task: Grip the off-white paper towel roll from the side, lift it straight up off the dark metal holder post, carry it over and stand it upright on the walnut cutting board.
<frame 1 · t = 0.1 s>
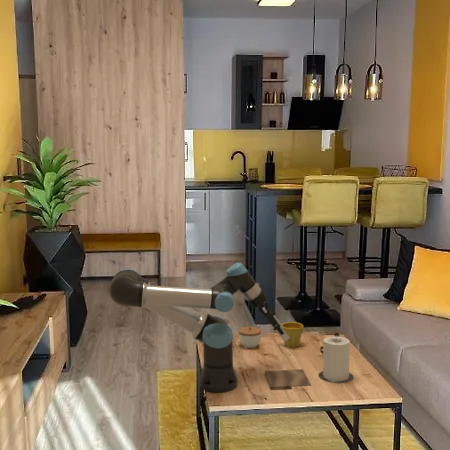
hand: (284, 334, 248), 15 cm above the table, tool tilted 35°, fingers open, 13 cm apart
plant pot: (292, 345, 279), on the table
lidded jar: (250, 346, 278), on the table
binoculars: (330, 358, 262), on the table
cutting board: (287, 380, 237), on the table
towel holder: (335, 378, 239), on the table
towel roll: (335, 376, 239), point 1 cm above the table, touching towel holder
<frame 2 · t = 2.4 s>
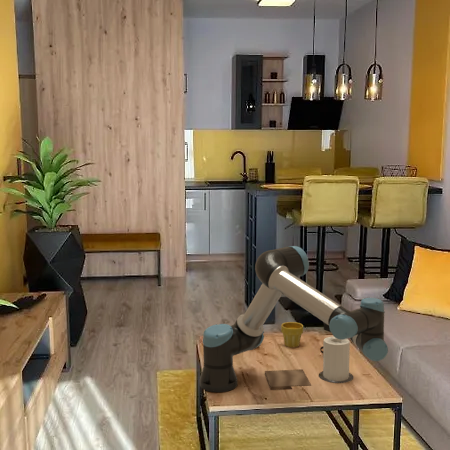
hand: (344, 318, 224), 28 cm above the table, tool horizontal, fingers open, 13 cm apart
nothing on the table moved.
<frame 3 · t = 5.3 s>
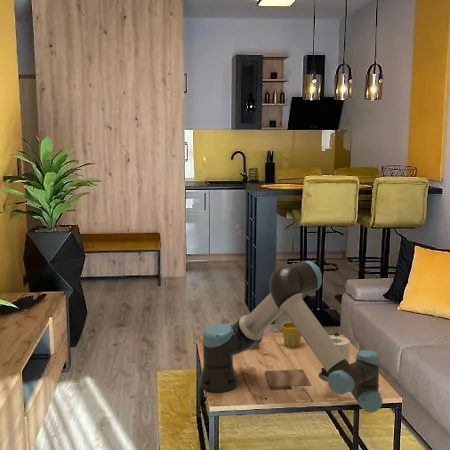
hand: (342, 362, 231), 9 cm above the table, tool horizontal, fingers open, 13 cm apart
nothing on the table moved.
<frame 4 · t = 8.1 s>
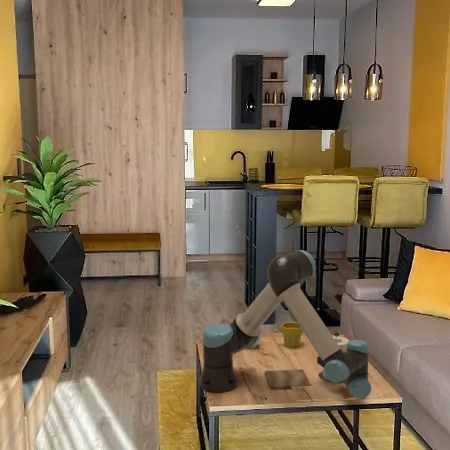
hand: (333, 352, 242), 10 cm above the table, tool horizontal, fingers closed on towel roll, 10 cm apart
towel roll: (335, 376, 239), point 1 cm above the table, touching gripper, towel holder
everything else where it was.
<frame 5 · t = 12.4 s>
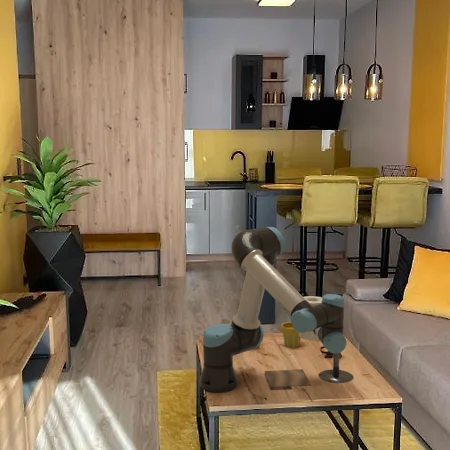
hand: (309, 312, 237), 27 cm above the table, tool horizontal, fingers closed on towel roll, 10 cm apart
towel roll: (312, 336, 234), point 19 cm above the table, touching gripper
everything else where it was.
when the fingers open (11 cm above the table, at t = 17.1 s): towel roll drops 1 cm, resting on cutting board.
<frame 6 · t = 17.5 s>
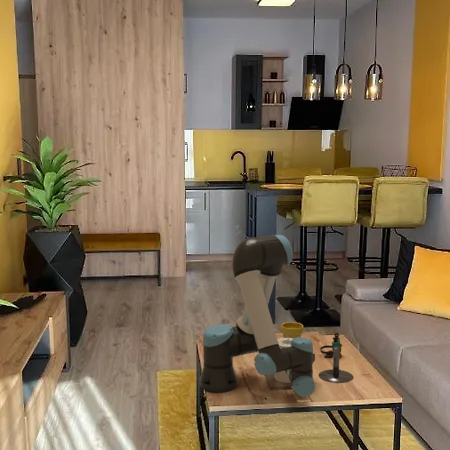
hand: (285, 351, 239), 11 cm above the table, tool horizontal, fingers open, 13 cm apart
towel roll: (287, 377, 237), point 1 cm above the table, touching cutting board
everything else where it was.
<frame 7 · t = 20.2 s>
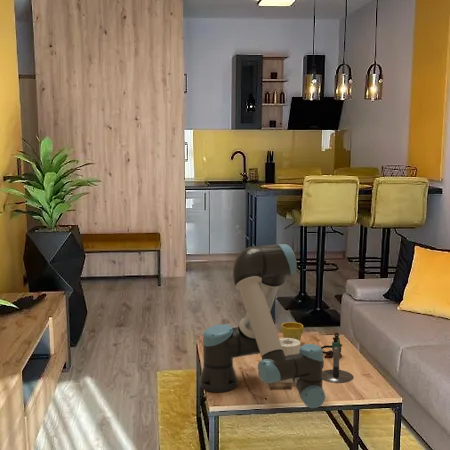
hand: (292, 356, 226), 14 cm above the table, tool horizontal, fingers open, 13 cm apart
nothing on the table moved.
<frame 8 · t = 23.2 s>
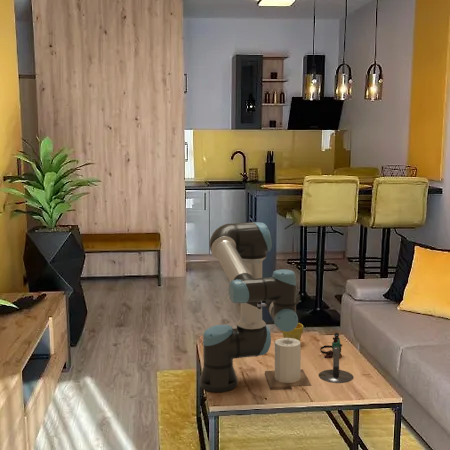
hand: (269, 293, 226), 38 cm above the table, tool horizontal, fingers open, 13 cm apart
nothing on the table moved.
at the end: towel roll inside the target area on the cutting board (0.1 cm from its centre), point 1.2 cm above the cutting board's base; towel roll tilted 0°; the gripper is holding nothing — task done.
